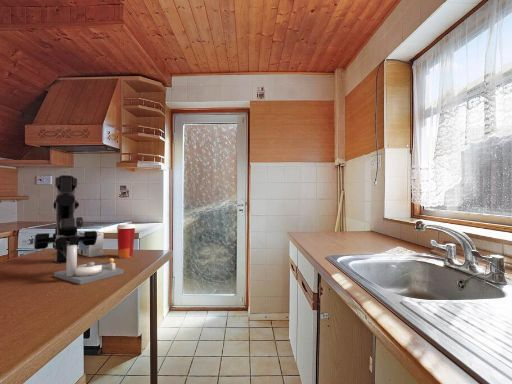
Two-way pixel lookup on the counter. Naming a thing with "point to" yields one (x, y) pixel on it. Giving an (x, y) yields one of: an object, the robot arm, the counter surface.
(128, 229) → the coffee cup
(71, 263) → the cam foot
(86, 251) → the light bulb box
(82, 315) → the counter surface
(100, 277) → the stand
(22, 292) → the counter surface
